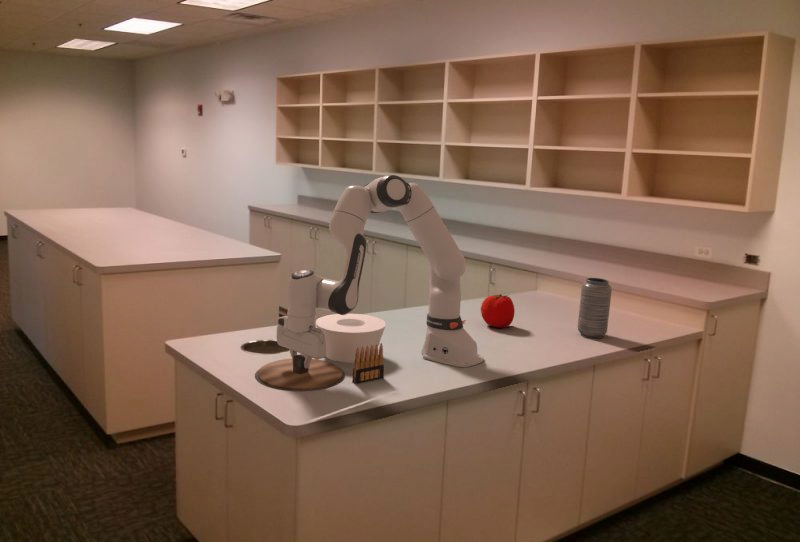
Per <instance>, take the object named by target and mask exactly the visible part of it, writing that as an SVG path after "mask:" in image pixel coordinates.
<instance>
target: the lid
mask: <svg viewBox="0 0 800 542" xmlns="http://www.w3.org/2000/svg"><path fill="white" fill-rule="evenodd" d="M305 359H306V358H304V355H303V354H301V353H299V354H297V355H296V356H293V363H292V358H285V359H279V360H275V361H270V362H269V363H265V365H262V366H261V367H260V368H259V369H258V370H259V371H258V370H257V371H258V378H259V379H260V380H261V381H262V382H263V383H265V384H267V385H269V386H272V387H276V388H281V389H289V390H311V389H319V388H324V387H327V386H330V385H333V384H335V383H337V382H338V381H340V380H341V378H342V370H343V369H342V368H341V367H340V366H339V365H337V364H335V363H333V362H330V361H326V360H322V359H318V360H317V359H314V358H312V359H311V361H310V367H309V368H303V367H302V362H304V361H305Z"/></svg>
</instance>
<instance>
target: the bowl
mask: <svg viewBox="0 0 800 542" xmlns="http://www.w3.org/2000/svg"><path fill="white" fill-rule="evenodd" d="M386 325H387V324H386V322H385V320H383V319H382V318H379V317H376V316H373V315H368V314H362V313H361V314H360V313H348V314H346V315H340V314H337V313H334V314H333V313H332V314H328V315H324V316H321V317H319V318H316V328H319V329H321V330H322V332H323V333H324V335H325V339H326V356H325V358H327V359H329V360H330V361H335V362H339V363H349V364H351V363H352V364H354V362H355V355H356V349H357V347H358V348H359V359H360V352H361V348H362V346H363V348H364V358H365V350H366V347H367V345H368V348H369V356H370V348H371V345H373V348H374V352H375V346H376V344H377V345H378V347H380V344H381V340H382V336H383V334H384V331H385V328H386Z"/></svg>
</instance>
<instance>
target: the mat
mask: <svg viewBox="0 0 800 542" xmlns="http://www.w3.org/2000/svg"><path fill="white" fill-rule="evenodd" d="M341 370H342V378H341V380H340V381H338V382H337V383H335V384H333V385H330V386H327V387H324V388H319V389H311V390H289V389H281V388H276V387H272V386H269V385H267V384H265V383H263V382H262V381H261V380H260V379H259V378H258V371H259V369H258V370H256V372H255V373H254V378H255V380H256V381H257V382H258V383H259V384H260V385H263V386H264V387H267V388H271V389H274V390H279V391H284V392H286V391H287V392H314V391H321V390H326V389H329V388H332V387H335V386H337V385H339V384H341V383H342V382H343V381H344V380H345V379H346V373H345V371H344V370H343V369H341Z"/></svg>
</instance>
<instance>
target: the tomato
mask: <svg viewBox="0 0 800 542" xmlns="http://www.w3.org/2000/svg"><path fill="white" fill-rule="evenodd" d="M509 295H511V294H505V295H502V294H501V293H499V294H494V295H489V296H487V297H484V300H483V301H482V303H481V305H480V315H481V317H482V320H483V322H485V323H486V324H487V325H488V326H490V327H494V328H498V329H499V328H503V329H504V328H507V327H509V326H510V325H511V324H512V323H513V320H514V317H515V312H516V311H515V310H516V309H515V305H514V302H513V300H512V298H511V297H510V296H509Z"/></svg>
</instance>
